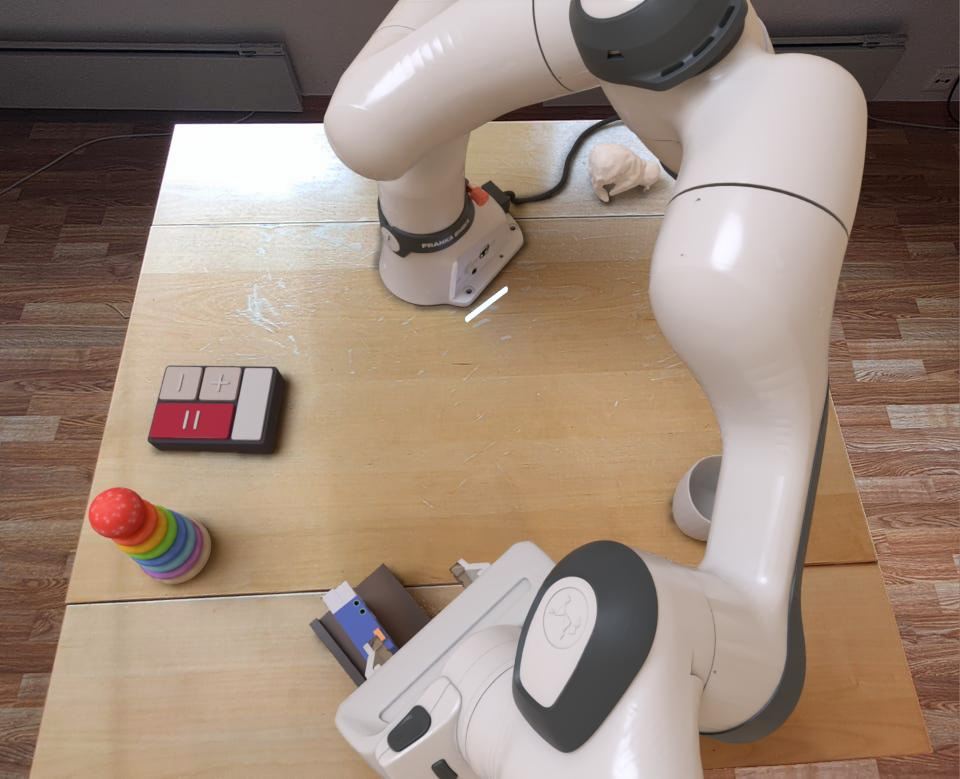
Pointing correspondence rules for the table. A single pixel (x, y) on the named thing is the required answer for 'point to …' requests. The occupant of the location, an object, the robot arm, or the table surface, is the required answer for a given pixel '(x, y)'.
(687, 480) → the mug
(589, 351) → the table surface
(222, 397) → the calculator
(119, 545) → the stacking toy
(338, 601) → the walkman
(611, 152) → the cream animal figurine
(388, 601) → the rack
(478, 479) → the table surface
